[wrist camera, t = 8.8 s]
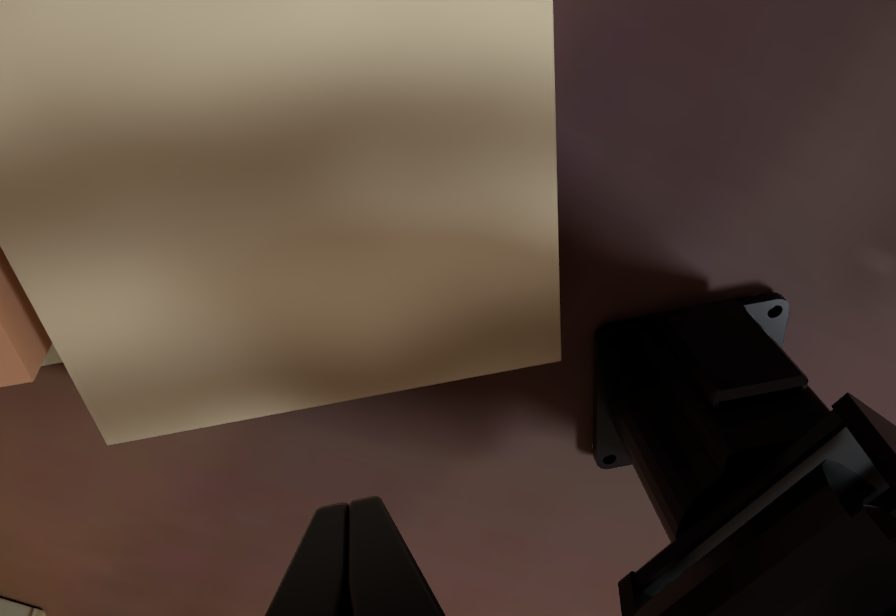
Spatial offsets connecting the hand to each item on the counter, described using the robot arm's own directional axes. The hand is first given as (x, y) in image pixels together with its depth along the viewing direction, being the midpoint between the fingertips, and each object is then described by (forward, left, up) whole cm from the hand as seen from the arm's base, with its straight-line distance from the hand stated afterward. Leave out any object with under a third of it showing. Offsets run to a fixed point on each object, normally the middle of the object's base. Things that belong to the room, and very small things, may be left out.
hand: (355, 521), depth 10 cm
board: (+1, +1, -12) cm, 12 cm away
